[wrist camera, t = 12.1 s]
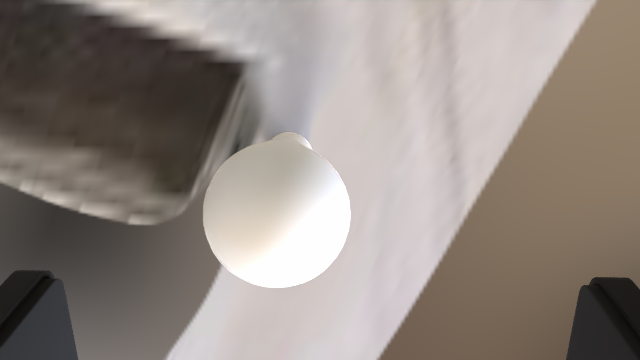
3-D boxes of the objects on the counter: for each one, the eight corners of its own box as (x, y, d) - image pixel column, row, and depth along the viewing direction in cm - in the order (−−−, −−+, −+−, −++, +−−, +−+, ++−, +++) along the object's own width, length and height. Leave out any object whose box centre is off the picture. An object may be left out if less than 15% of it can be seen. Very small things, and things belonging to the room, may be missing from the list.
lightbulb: (363, 177, 33) (376, 288, 23) (263, 215, 34) (232, 337, 24) (319, 76, 31) (312, 148, 21) (214, 120, 32) (157, 209, 22)
